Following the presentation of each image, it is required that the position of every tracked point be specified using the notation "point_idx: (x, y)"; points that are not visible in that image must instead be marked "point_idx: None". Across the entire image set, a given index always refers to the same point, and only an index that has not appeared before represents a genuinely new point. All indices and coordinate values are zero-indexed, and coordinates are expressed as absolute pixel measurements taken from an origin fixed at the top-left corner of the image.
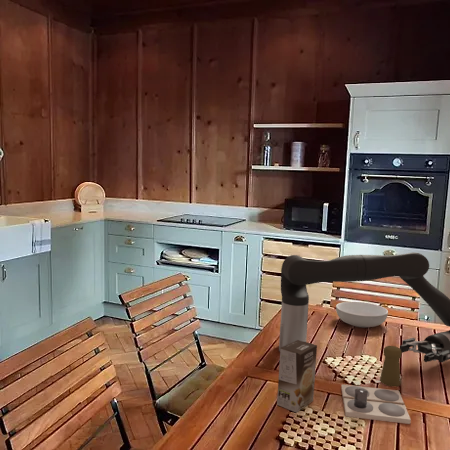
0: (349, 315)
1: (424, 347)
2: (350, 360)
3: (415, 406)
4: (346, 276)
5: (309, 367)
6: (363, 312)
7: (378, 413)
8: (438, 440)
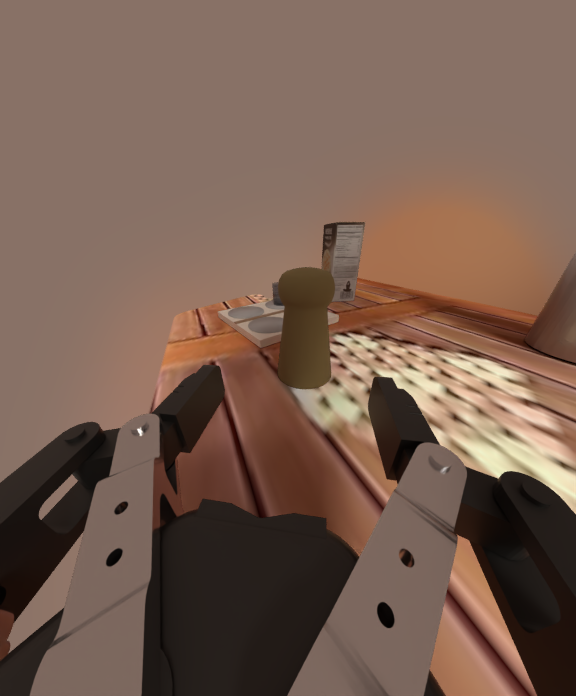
0: None
1: (259, 520)
2: (487, 398)
3: (221, 340)
4: None
5: (327, 249)
6: None
7: (256, 305)
8: (182, 315)
